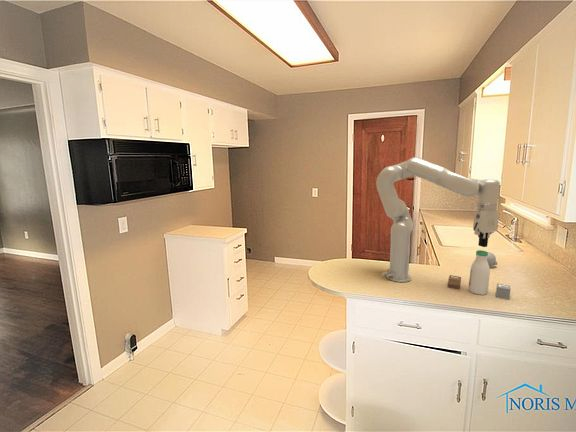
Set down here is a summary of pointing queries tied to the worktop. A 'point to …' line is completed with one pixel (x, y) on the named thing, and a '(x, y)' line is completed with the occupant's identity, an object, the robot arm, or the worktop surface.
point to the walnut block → (454, 282)
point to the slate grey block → (503, 291)
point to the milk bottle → (479, 274)
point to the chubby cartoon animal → (491, 260)
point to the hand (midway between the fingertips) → (482, 246)
